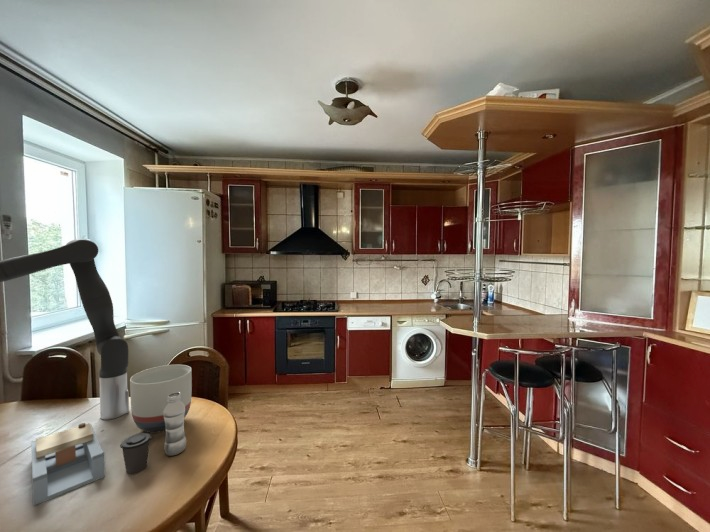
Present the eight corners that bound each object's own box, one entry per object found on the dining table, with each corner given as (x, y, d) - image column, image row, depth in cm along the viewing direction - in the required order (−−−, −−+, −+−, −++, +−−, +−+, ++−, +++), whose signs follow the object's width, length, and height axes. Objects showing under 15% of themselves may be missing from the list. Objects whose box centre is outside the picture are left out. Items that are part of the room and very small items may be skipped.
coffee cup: (117, 481, 91) (117, 448, 91) (123, 465, 99) (122, 434, 98) (150, 472, 95) (149, 440, 95) (153, 457, 102) (153, 427, 102)
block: (74, 453, 103) (73, 438, 103) (75, 459, 100) (75, 444, 100) (55, 460, 100) (55, 444, 100) (56, 466, 97) (56, 450, 96)
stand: (91, 441, 112) (91, 420, 112) (104, 476, 93) (104, 452, 93) (31, 461, 101) (31, 438, 101) (33, 505, 82) (32, 478, 82)
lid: (89, 428, 108) (89, 420, 108) (93, 439, 101) (93, 431, 101) (35, 445, 98) (35, 436, 98) (36, 458, 92) (36, 449, 92)
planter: (143, 449, 106) (141, 388, 106) (123, 430, 119) (121, 375, 118) (201, 424, 123) (201, 371, 122) (179, 409, 135) (178, 361, 134)
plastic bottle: (190, 448, 107) (189, 391, 107) (173, 460, 101) (172, 400, 100) (176, 444, 109) (175, 389, 109) (159, 456, 103) (158, 397, 102)
